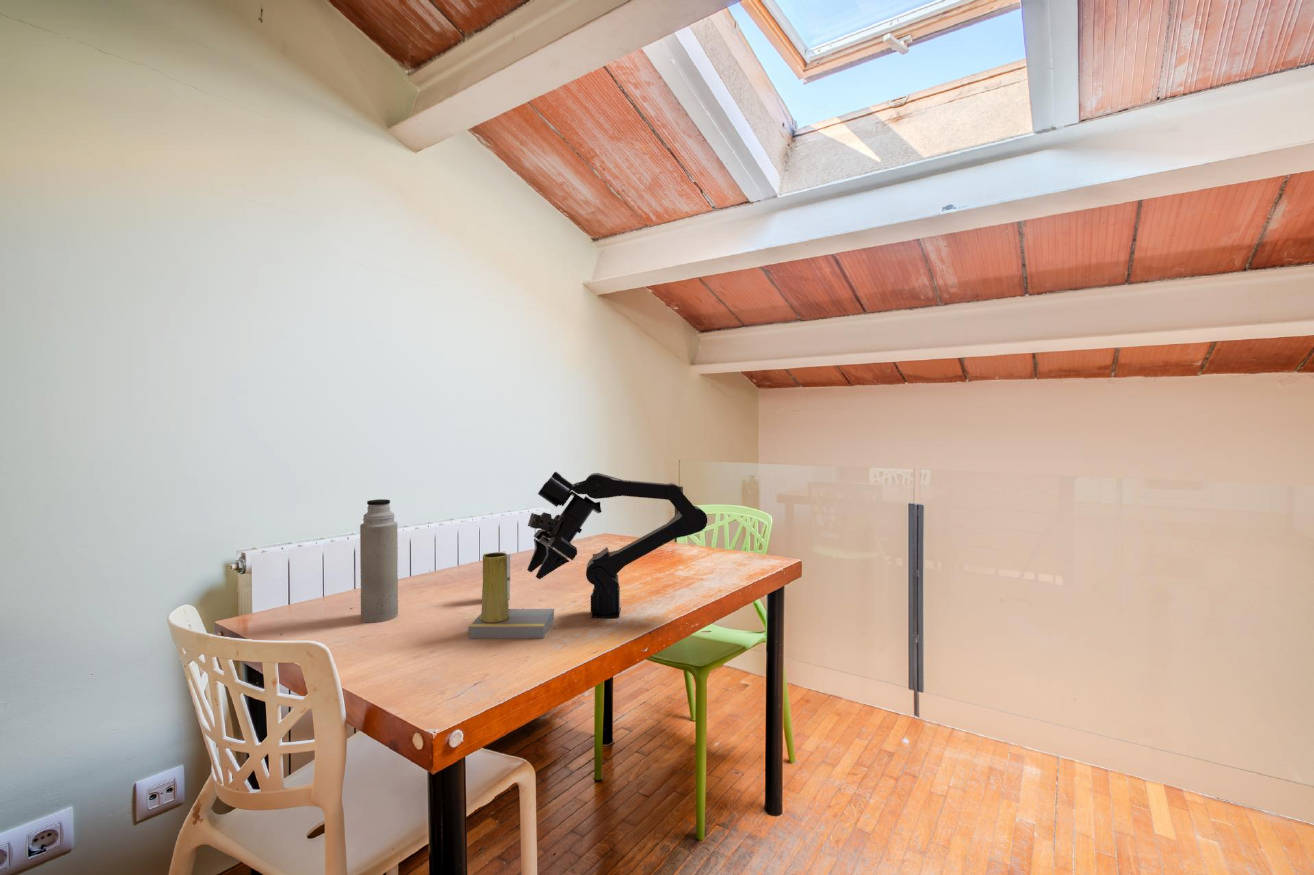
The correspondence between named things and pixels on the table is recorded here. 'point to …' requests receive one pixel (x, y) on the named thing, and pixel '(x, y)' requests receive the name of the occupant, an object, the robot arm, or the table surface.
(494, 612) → the vase
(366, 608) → the thermos bottle
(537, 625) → the gray and yellow box
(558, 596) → the table surface
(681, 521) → the robot arm
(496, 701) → the table surface
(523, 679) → the table surface
